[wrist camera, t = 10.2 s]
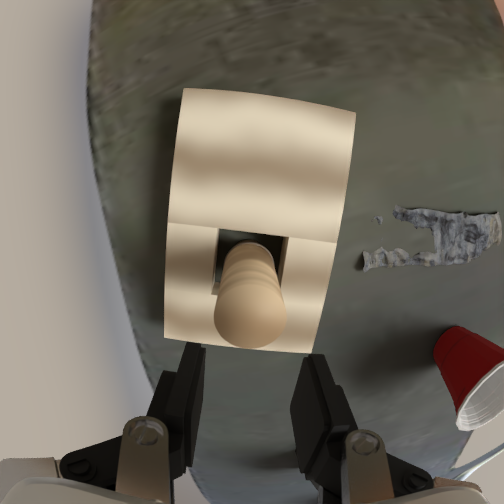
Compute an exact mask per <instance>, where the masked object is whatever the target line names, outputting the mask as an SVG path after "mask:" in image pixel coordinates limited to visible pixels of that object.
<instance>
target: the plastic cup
mask: <svg viewBox="0 0 504 504" xmlns="http://www.w3.org/2000/svg"><path fill="white" fill-rule="evenodd" d="M433 357H434V360H435V362H436V364H437V366H438V368H439V370H440V371H441V375H442V377H443V379H444V381H445V383H446V386H447V388H448V390H449V392H450V394H451V396H452V399H453V401H454V405H455V408H456V409H455V410H456V413H457V414H456V415H457V417H456V424H457V426H458V428H459V430H464V431H469V430H473V429H476V428H479V427H481V426H483V425H484V424H486V423H488V422H489V421H491V420H493V419H494V418H495V417H496V416H498V415H499V414H500V413H501V412H502V411H503V410H504V349H503V348H501V347H499V346H498V345H496V344H494V343H492V342H491V341H489V340H487V339H485V338H483V337H482V336H480V335H478V334H476V333H473V332H471V331H469V330H467V329H465V328H463V327H460V326H456V327H452V328H450V329H448V330H447V331H446V332H445V333H444V334H442V335H441V337H440V338H439V340H438V341H437V342H436V345H435V347H434V350H433Z"/></svg>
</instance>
